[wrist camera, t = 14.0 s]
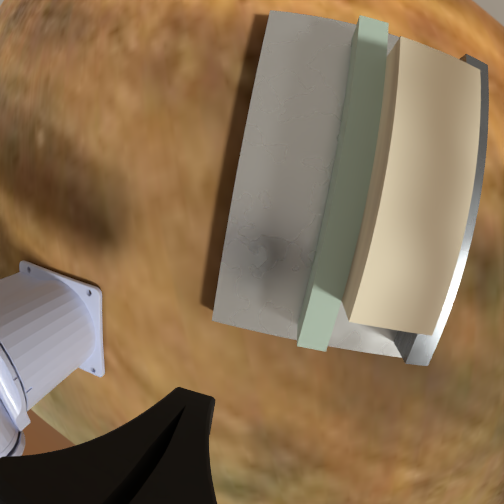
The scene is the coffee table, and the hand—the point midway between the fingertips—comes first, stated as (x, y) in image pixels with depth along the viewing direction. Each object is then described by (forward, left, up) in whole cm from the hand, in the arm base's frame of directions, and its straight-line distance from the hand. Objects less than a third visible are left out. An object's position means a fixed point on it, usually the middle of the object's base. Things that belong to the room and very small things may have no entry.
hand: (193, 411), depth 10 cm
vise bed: (+5, +9, -9) cm, 14 cm away
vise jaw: (+4, +9, -8) cm, 13 cm away
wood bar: (+7, +9, -8) cm, 14 cm away
